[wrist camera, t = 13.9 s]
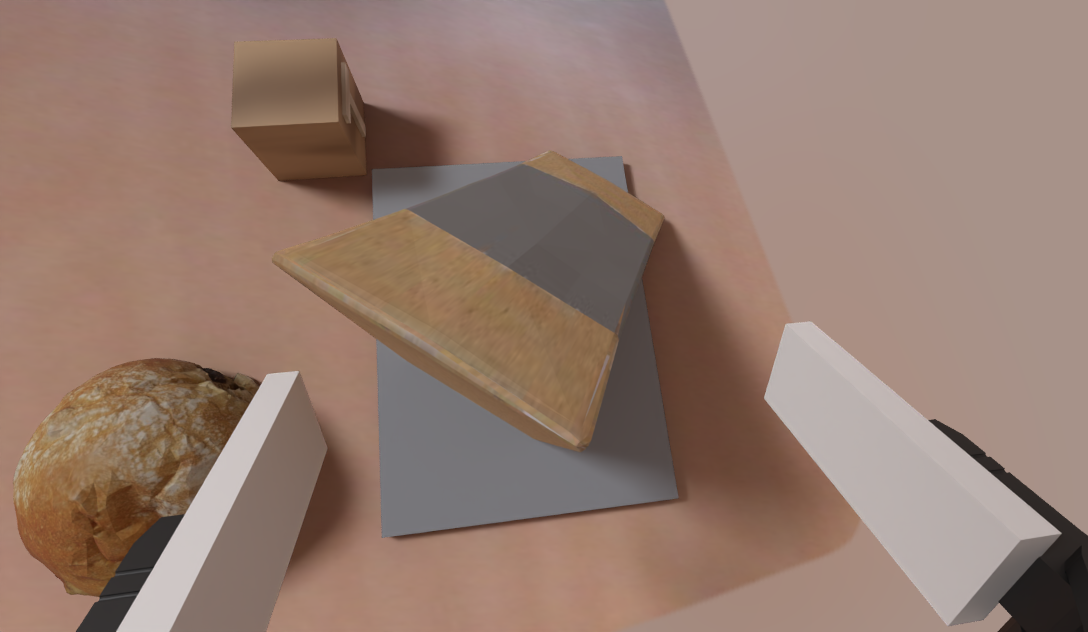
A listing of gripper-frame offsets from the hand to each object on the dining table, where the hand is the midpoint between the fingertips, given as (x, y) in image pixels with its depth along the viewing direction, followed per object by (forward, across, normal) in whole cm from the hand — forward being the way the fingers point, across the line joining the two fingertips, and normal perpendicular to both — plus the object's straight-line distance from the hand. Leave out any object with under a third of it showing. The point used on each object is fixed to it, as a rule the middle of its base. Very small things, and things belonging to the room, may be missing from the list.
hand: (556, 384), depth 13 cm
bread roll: (+8, -17, -10) cm, 22 cm away
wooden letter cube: (+21, -11, +3) cm, 24 cm away
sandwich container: (+14, +2, -4) cm, 14 cm away
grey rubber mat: (+12, 0, -6) cm, 14 cm away
